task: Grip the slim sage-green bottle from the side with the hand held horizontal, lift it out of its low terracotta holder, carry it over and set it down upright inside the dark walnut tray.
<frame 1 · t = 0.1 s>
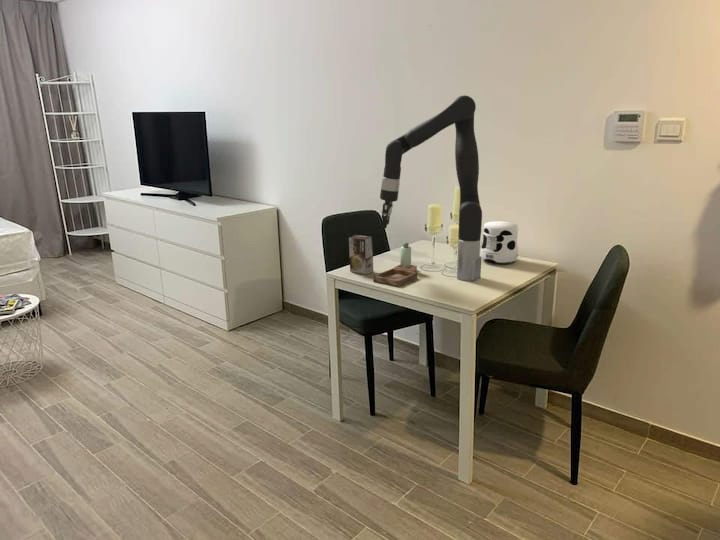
hand: (385, 226, 233), 22 cm above the table, tool pointing down, fingers open, 8 cm apart
holder: (405, 270, 245), on the table
bottle: (405, 257, 244), in the holder
coffee box: (361, 271, 246), on the table
tray: (395, 279, 232), on the table
cow print rice cooker: (498, 262, 258), on the table
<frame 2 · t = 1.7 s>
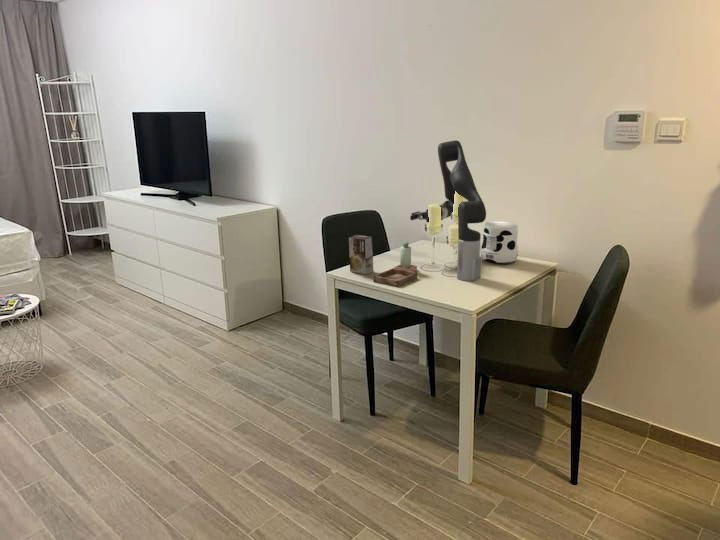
hand: (419, 219, 247), 22 cm above the table, tool horizontal, fingers open, 8 cm apart
nothing on the table moved.
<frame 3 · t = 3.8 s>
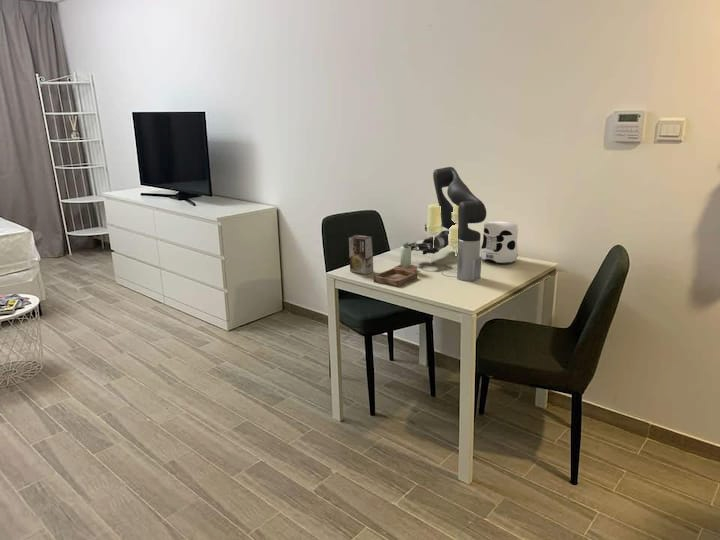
hand: (415, 251, 249), 8 cm above the table, tool horizontal, fingers open, 8 cm apart
nothing on the table moved.
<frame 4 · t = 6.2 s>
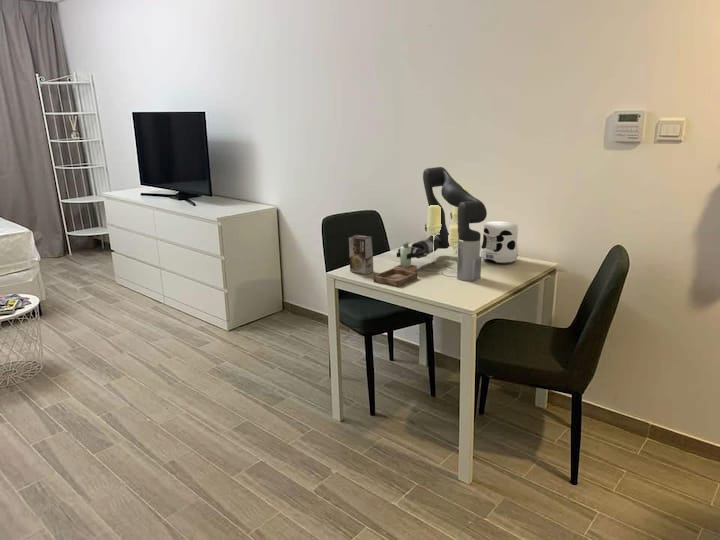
hand: (402, 256, 241), 8 cm above the table, tool horizontal, fingers closed on bottle, 4 cm apart
bottle: (405, 257, 244), in the holder, touching gripper
everything else where it was.
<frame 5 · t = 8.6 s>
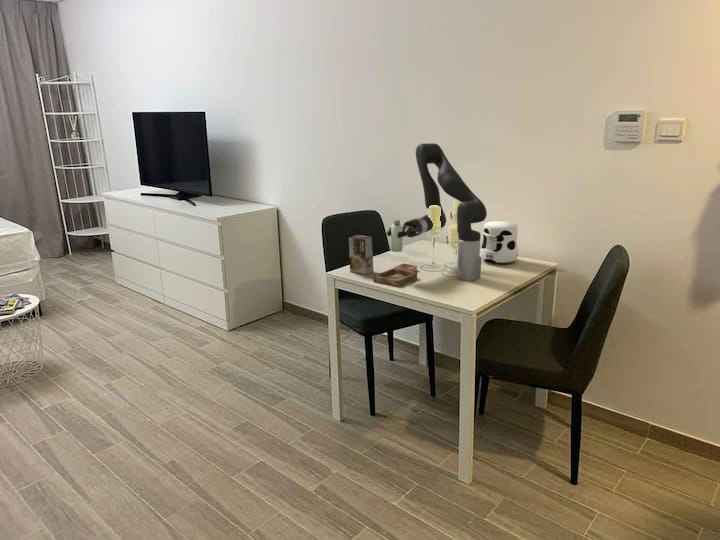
hand: (393, 234, 227), 20 cm above the table, tool horizontal, fingers closed on bottle, 4 cm apart
bottle: (396, 235, 229), point 19 cm above the table, touching gripper
everything else where it was.
when the fingers open (9 cm above the table, at t = 11.3 s): bottle stays where it is, resting on tray.
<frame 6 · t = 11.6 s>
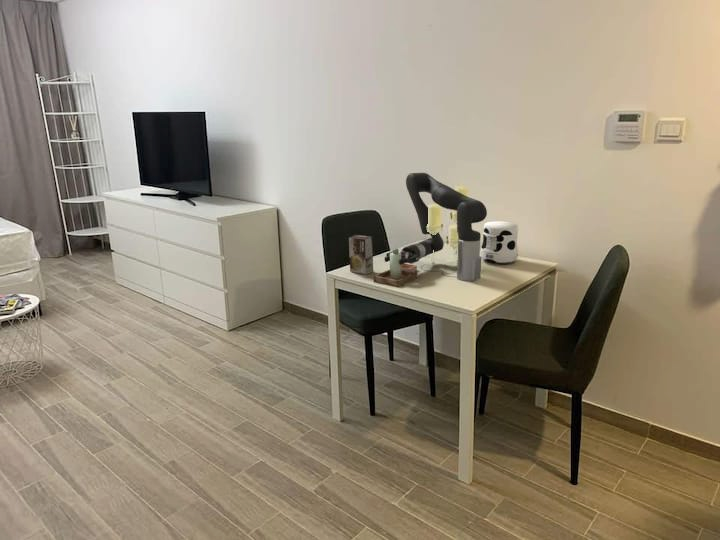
hand: (392, 260, 228), 9 cm above the table, tool horizontal, fingers open, 7 cm apart
bottle: (395, 263, 231), in the tray, point 7 cm above the table
everything else where it was.
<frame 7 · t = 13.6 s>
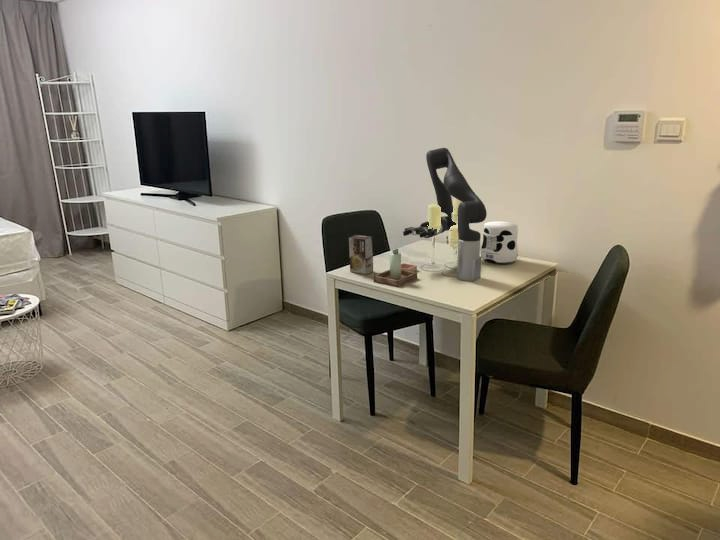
hand: (412, 234, 238), 17 cm above the table, tool horizontal, fingers open, 8 cm apart
nothing on the table moved.
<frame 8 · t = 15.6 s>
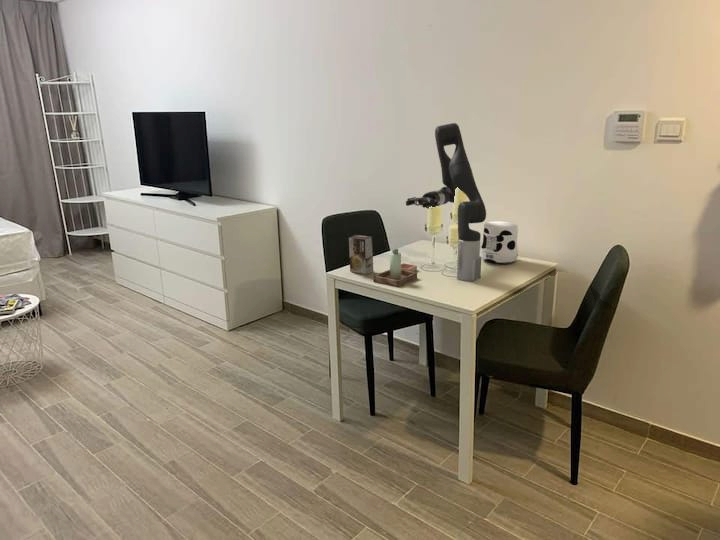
hand: (414, 204, 239), 30 cm above the table, tool horizontal, fingers open, 8 cm apart
nothing on the table moved.
at the end: bottle inside the target area on the tray (0.1 cm from its centre), point 7.1 cm above the tray's base; bottle tilted 1°; the gripper is holding nothing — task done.
